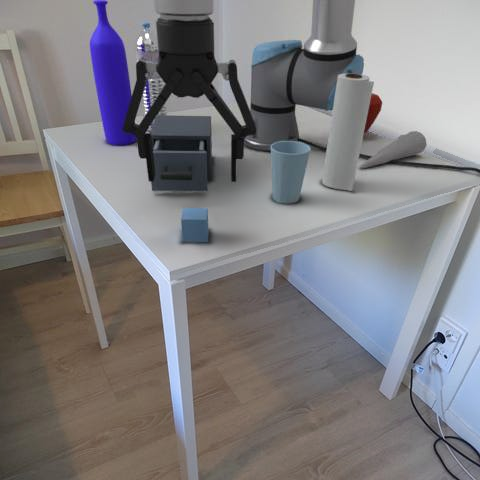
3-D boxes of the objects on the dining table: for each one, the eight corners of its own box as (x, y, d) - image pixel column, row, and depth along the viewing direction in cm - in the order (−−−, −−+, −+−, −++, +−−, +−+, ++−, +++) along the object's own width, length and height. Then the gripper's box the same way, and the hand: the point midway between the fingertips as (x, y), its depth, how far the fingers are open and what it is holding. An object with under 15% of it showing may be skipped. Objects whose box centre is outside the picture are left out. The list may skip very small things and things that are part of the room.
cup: (259, 196, 89) (262, 145, 82) (285, 187, 93) (290, 137, 86) (285, 209, 84) (290, 156, 78) (311, 199, 88) (318, 148, 82)
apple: (381, 140, 119) (392, 92, 111) (346, 142, 116) (355, 94, 109) (363, 128, 127) (372, 83, 119) (330, 130, 124) (337, 84, 117)
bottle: (130, 147, 110) (109, 2, 90) (100, 144, 111) (73, 1, 91) (142, 137, 116) (125, 0, 96) (113, 134, 117) (91, -2, 98)
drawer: (206, 201, 84) (205, 162, 79) (149, 201, 84) (144, 161, 79) (208, 166, 98) (207, 131, 93) (159, 166, 98) (155, 130, 93)
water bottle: (156, 123, 126) (146, 20, 110) (173, 128, 123) (165, 23, 107) (139, 128, 121) (126, 22, 105) (156, 133, 119) (145, 25, 102)
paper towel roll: (320, 178, 97) (335, 71, 83) (346, 178, 97) (366, 72, 83) (323, 191, 92) (341, 79, 78) (351, 192, 92) (374, 80, 78)
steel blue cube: (208, 230, 77) (207, 207, 75) (207, 242, 74) (207, 219, 71) (184, 230, 77) (182, 207, 74) (182, 242, 74) (180, 219, 71)
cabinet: (211, 180, 95) (210, 135, 88) (154, 180, 94) (149, 135, 88) (211, 157, 106) (211, 116, 99) (161, 156, 105) (156, 115, 99)
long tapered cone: (383, 158, 96) (427, 132, 105) (359, 154, 100) (404, 129, 109) (381, 182, 100) (424, 155, 109) (358, 177, 104) (402, 152, 113)
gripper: (276, 15, 58) (266, 170, 72) (95, 11, 57) (120, 168, 71) (282, 22, 53) (270, 188, 66) (81, 17, 52) (111, 187, 65)
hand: (192, 178), depth 69 cm, fingers open, 12 cm apart
